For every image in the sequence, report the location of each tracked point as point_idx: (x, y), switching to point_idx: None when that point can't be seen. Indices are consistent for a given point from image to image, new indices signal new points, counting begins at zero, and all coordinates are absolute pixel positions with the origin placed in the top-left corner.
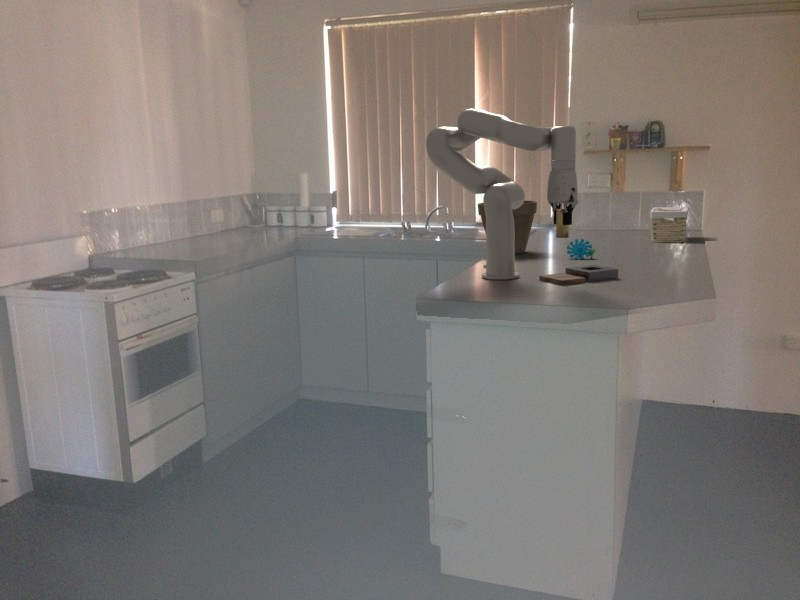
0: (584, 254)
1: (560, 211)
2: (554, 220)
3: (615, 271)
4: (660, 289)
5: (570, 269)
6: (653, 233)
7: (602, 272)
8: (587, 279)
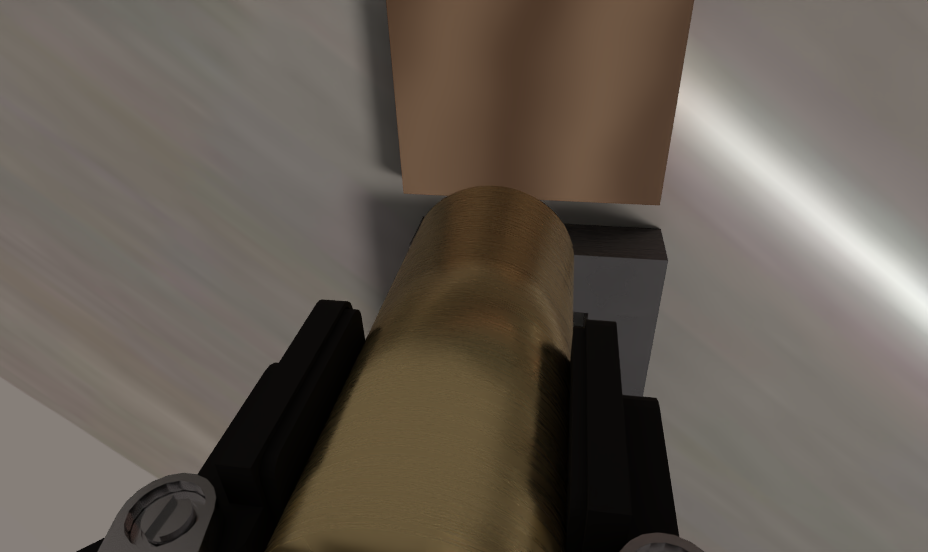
0: None
1: (318, 492)
2: (587, 359)
3: None
4: (92, 306)
5: (609, 255)
6: None
7: None
8: None
